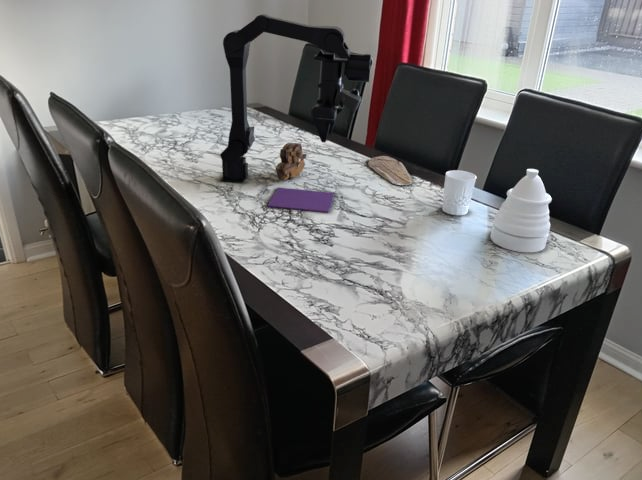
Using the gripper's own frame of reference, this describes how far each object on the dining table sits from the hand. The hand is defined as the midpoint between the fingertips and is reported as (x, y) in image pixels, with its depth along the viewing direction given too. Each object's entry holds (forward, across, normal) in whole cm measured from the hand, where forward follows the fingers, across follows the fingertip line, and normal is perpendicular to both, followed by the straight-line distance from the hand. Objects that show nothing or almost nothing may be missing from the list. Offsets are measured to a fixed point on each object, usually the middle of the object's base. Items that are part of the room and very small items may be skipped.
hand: (326, 138), depth 160 cm
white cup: (+14, -8, -37) cm, 41 cm away
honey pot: (+14, -23, -52) cm, 59 cm away
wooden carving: (+14, +5, +10) cm, 18 cm away
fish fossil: (+14, +20, -18) cm, 30 cm away
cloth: (+14, -13, +4) cm, 19 cm away
